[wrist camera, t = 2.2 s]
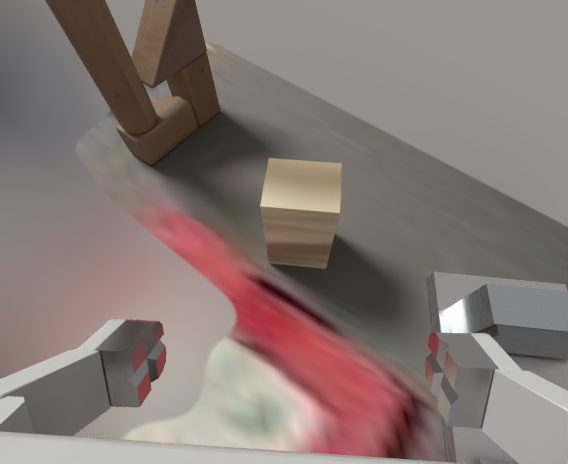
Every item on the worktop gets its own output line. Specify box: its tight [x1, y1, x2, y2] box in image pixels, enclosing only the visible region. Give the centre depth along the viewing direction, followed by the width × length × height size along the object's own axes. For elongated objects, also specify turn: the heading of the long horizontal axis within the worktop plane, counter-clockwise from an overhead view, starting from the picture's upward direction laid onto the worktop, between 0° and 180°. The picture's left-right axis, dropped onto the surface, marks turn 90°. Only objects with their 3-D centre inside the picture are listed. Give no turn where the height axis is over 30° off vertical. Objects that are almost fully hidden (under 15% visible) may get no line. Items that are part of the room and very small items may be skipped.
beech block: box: [260, 158, 342, 269], centre depth 25 cm, size 4×5×9 cm
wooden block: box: [45, 0, 220, 165], centre depth 28 cm, size 4×11×18 cm, turn 142°
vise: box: [427, 272, 568, 464], centre depth 19 cm, size 22×10×6 cm, turn 173°
